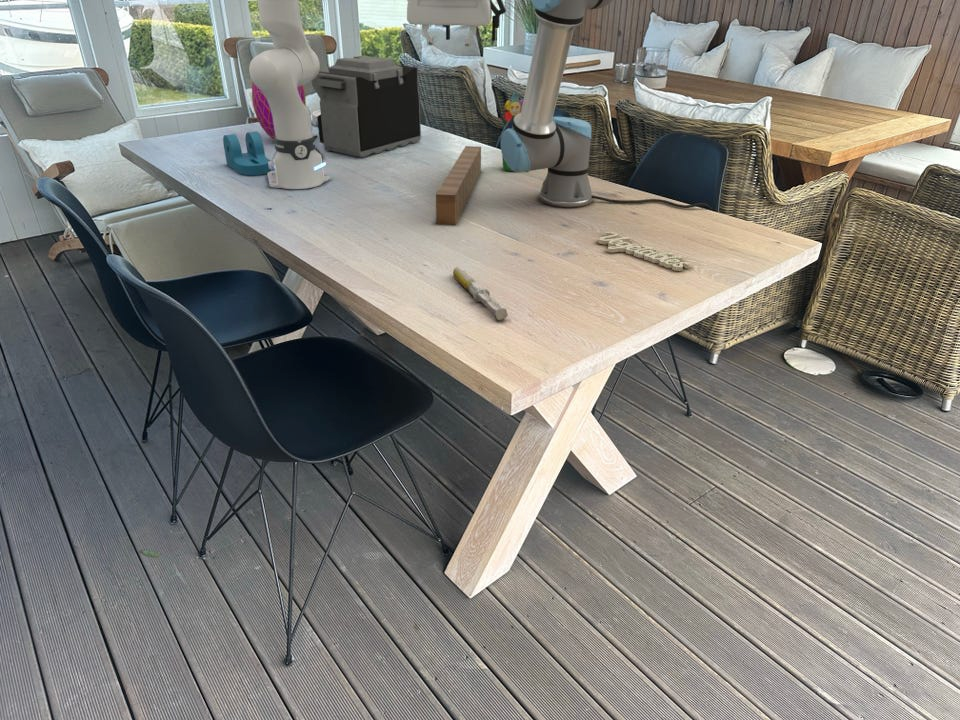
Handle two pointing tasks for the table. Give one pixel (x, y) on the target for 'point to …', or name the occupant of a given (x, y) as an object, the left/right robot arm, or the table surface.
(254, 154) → the camera mount
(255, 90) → the decorative egg
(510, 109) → the potted flower
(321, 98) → the grey black box
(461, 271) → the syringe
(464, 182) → the bar
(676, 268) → the decorative sign
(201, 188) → the table surface
